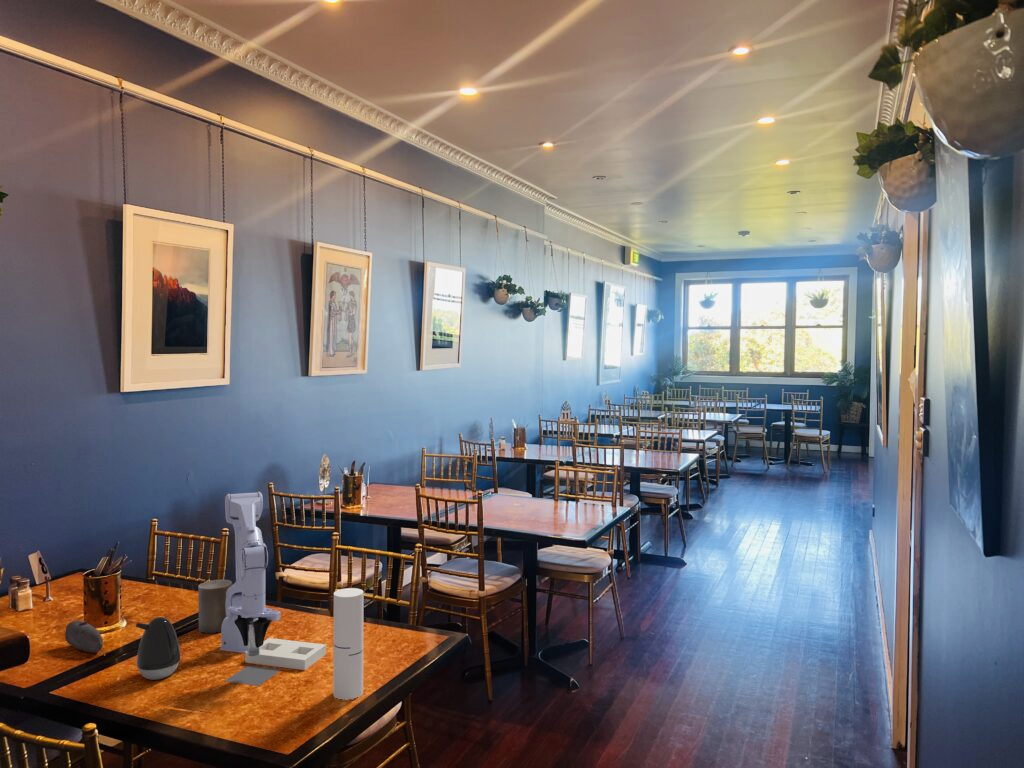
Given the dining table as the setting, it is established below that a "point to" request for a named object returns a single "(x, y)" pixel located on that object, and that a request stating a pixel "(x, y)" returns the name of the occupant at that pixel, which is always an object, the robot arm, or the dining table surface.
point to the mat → (253, 675)
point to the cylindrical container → (348, 643)
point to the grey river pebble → (83, 637)
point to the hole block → (288, 654)
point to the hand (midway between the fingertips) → (253, 645)
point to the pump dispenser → (158, 649)
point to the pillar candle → (212, 605)
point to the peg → (251, 641)
